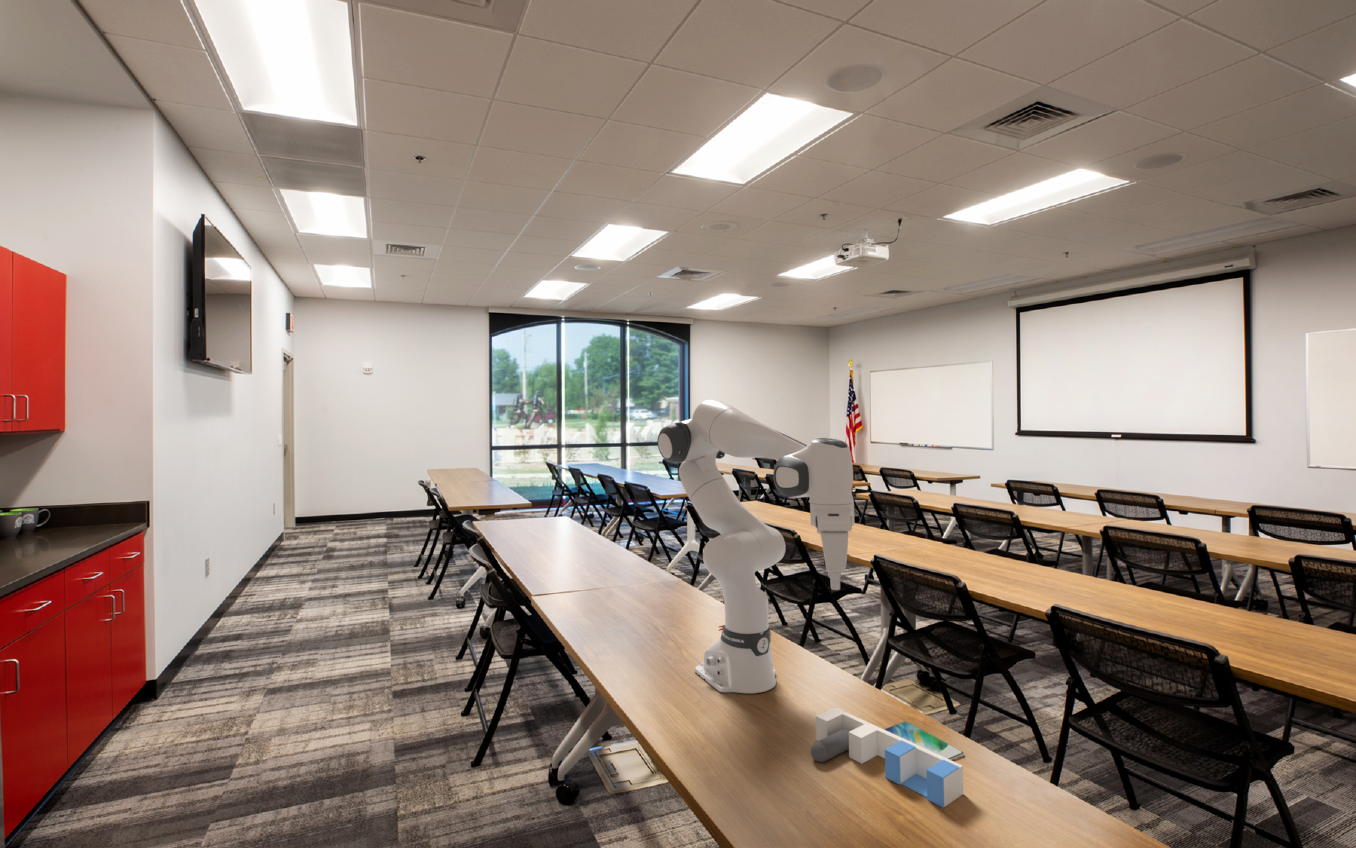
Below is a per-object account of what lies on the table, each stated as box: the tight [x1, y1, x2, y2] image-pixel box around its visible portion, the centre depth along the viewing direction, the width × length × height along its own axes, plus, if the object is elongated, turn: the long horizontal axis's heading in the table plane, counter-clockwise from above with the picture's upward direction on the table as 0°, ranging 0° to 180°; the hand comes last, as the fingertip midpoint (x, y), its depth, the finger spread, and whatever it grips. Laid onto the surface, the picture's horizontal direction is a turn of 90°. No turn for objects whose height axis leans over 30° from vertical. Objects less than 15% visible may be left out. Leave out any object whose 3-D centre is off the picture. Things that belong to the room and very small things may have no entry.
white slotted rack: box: [815, 707, 964, 809], centre depth 118 cm, size 28×6×5 cm, turn 36°
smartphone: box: [883, 721, 965, 761], centre depth 126 cm, size 7×1×15 cm
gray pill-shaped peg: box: [810, 729, 851, 763], centre depth 123 cm, size 4×12×4 cm, turn 126°
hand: (834, 583), depth 127 cm, fingers open, 8 cm apart
